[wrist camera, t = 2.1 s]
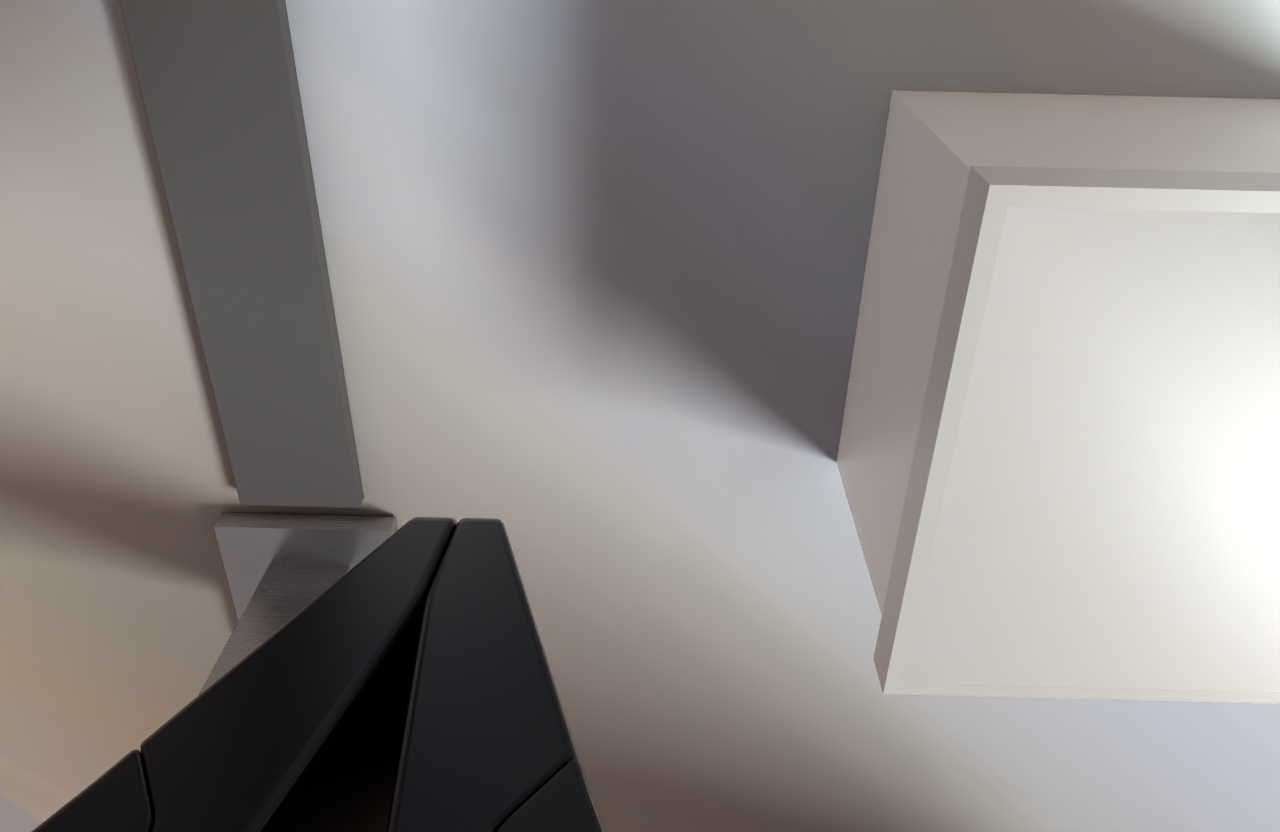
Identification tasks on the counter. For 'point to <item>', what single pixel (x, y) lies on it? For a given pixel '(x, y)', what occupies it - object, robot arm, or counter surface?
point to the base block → (1072, 398)
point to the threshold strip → (250, 241)
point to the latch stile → (285, 568)
